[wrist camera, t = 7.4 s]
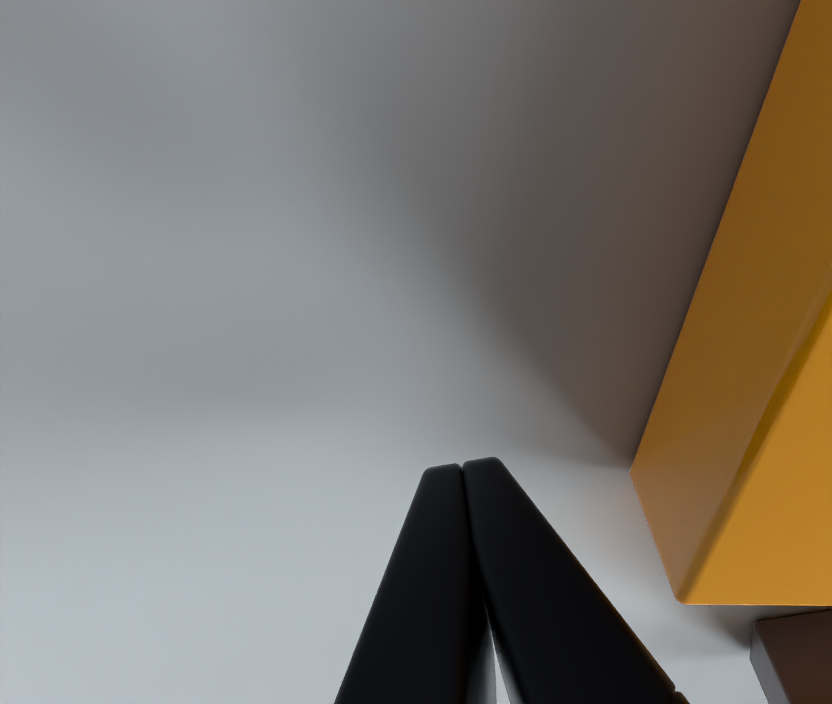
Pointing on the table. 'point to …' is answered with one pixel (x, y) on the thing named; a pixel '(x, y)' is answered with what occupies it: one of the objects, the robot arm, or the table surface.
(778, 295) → the mustard yellow box
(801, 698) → the bay
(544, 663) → the robot arm
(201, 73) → the table surface
